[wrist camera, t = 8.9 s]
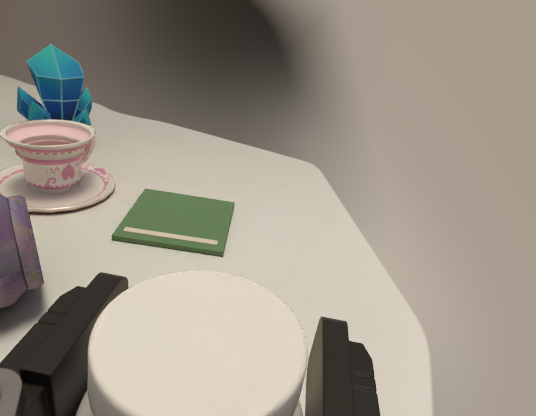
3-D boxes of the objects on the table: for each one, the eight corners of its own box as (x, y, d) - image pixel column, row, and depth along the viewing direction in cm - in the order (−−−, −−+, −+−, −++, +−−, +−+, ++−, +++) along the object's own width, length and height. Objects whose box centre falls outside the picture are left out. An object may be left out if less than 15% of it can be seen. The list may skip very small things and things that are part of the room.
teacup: (30, 229, 36) (22, 164, 33) (-38, 182, 41) (-51, 122, 38) (138, 191, 45) (139, 138, 42) (71, 157, 50) (68, 107, 47)
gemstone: (19, 135, 53) (6, 38, 48) (88, 132, 58) (84, 44, 53) (28, 156, 48) (15, 51, 43) (103, 151, 53) (101, 55, 48)
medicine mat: (234, 206, 46) (234, 201, 45) (222, 256, 37) (223, 251, 36) (145, 192, 45) (145, 187, 45) (111, 239, 36) (111, 234, 36)
